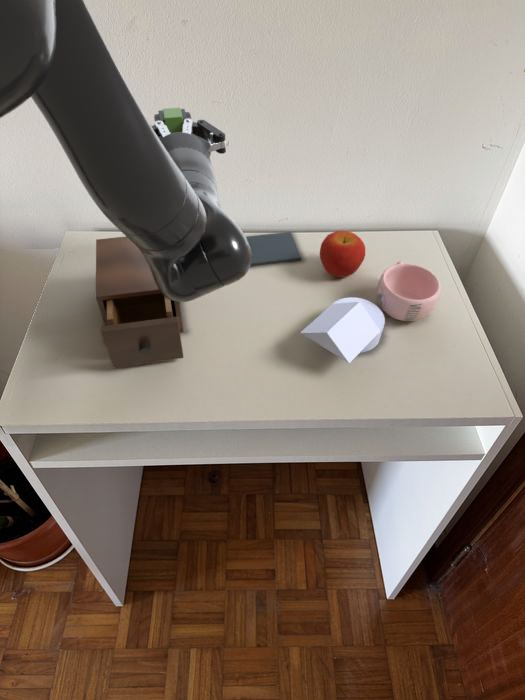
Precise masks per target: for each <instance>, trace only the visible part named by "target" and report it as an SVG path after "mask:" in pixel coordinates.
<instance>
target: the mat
mask: <svg viewBox="0 0 525 700" xmlns="http://www.w3.org/2000/svg"><path fill="white" fill-rule="evenodd" d="M245 237H246V238H247V240H248V243H249V245H250V248H251V253H252V259H251V265H250V267H253V266H261V265H270V264H279V263H287V262H294V261H301V260H302V256H301V253H300V252H299V248H298V246H297V244H296V242H295V239H294V237H293V235H292V232H291V231H288V232H279V233H278V232H277V233H268V234H260V235H249V236H245Z"/></svg>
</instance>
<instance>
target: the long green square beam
mask: <svg viewBox="0 0 525 700" xmlns="http://www.w3.org/2000/svg"><path fill="white" fill-rule="evenodd" d="M181 109H182V108H181V107H171V108H170V107H169V108H162V110H163V115H164V120H165V125H166V126H167V128H168V130H169V132H170V133H176V132H183V118H182V113H181Z"/></svg>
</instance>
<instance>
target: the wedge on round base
mask: <svg viewBox="0 0 525 700" xmlns="http://www.w3.org/2000/svg"><path fill="white" fill-rule="evenodd" d="M385 323H386V319H385V314H384V313H383V311H382V310H381V308H380V307H379V306H377V304H375V303H373V302H371V301H369V300H367V299H364V298H361V297H354V296H353V297H351V296H350V297H344V298H340V299H337V300H336V301H334V302H333V303H332V304H331V305H329V306H328V307H327V308H326V309H325V310H324V311H322V312H321V314H319V315H318V316H317V317H316V318H315V319H314V320H313V321H312V322H310V323H309V324H308V325H307V326H306V327H305V328H303V330H302V331H300V334H301V335H303V336H304V337H306V338H308V339H309V340H311V341H312V342H314V343H315V344H317V345H319V346H321V347H322V348H324V349H325V350H327V351H328V352H330V353H332V354H333V355H335V356H336V357H338V358H340V359H341V360H343V361H345V362H346V363H348V364H350V363H352V362H353V360H355V358H356V357H357V356H358V355H359V354H360V353H361V354H362V353H365V352H369V351H372V350H373V349H374V348H375V347H377V345H378V344H379V342H380V341H381V336H382V333H383V330H384V327H385Z"/></svg>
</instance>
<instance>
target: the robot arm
mask: <svg viewBox="0 0 525 700" xmlns="http://www.w3.org/2000/svg"><path fill="white" fill-rule="evenodd" d="M30 98H31V99H32V101H33V102H34V104H35V105H36V106H37V108H38V109H39V111H40V112H41V114H42V116H43V117H44V119H45V121H46V123H47V124H48V126H49V127H50V130H51V131H52V132H53V134H54V136H55V137H56V139H57V141H58V143H59V144H60V147H61V149H62V150H63V151H64V153H65V156H66V157H67V159H68V161H69V162H70V164H71V166H72V168H73V169H74V171H75V173H76V176H77V177H78V179H79V181H80V182H81V184H82V185H83V187H84V189H85V190H86V192H87V193H88V195H89V197H90V199H92V201H93V202H94V204H95V205H96V206H97V208H98V209H99V211H101V213H102V214H103V215H104V217H106V219H107V220H108V221H109V222H110V223H111V224H112V225H114V227H116V228H117V229H118V230H119V231H120V232H121V233H122V234H123V235H124V237H128V238H129V239H130V240H131V241H132V242H133V243H134V244H135V245H136V246H137V247H138V248H139V250H140V251H141V253H142V254H143V256H144V257H145V259H146V261H147V263H148V265H149V267H150V270H151V273H152V276H153V278H154V281H155V283H156V285H157V287H158V289H159V290H160V292H161V293H162V294H163V295H164V296H165V297H166V298H168V299H170V300H172V301H176V302H180V303H188V302H192V301H194V300H195V301H196V300H197V299H199V298H201V297H203V296H206V295H209V294H210V293H213V292H215V291H218V290H220V289H222V288H224V287H226V286H229V285H231V284H234V283H236V282H238V281H240V280H241V279H243V278H245V276H246V275H247V273H248V272H249V270H250V268H251V266H250V265H251V259H252V253H251V248H250V245H249V243H248V240H247V238H246V237H247V236H246V235H245V233H244V232H243V230H242V229H241V228H240V226H239V225H238V223H236V222H235V220H234V219H233V218H232V217H231V216H230V215H229V214H228V213H226V211H225V210H224V209H223V207H222V204H221V201H220V197H219V194H218V185H217V180H216V176H215V172H214V168H213V164H212V161H211V154H212V152H216V153H217V154H222V155H223V154H225V153H226V152H227V145H226V133H225V132H223V131H222V130H220V129H218V128H217V127H216V126H214V125H212V124H211V123H210V122H208V121H207V120H205V119H198V120H197V121H196V122H194V121H193V119H192V115H191V113H190V112H189V111H186V109H185V108H180V109H181V113H182V118H183V132H176V133H170V132H169V130H168V128H167V126H166V125H165V120H164V115H163V109H162V110H161V109H160V110H158V111H157V112H158V113H155V114H154V115H153V119H154V124H153V125H152V124H151V123H150V121H149V120H148V118H147V116H146V115H145V113H144V112H143V110H142V108H141V106H140V104H139V103H138V101H137V99H136V97H135V96H134V94H133V93H132V91H131V89H130V87H129V86H128V84H127V82H126V80H125V77H123V74H122V72H121V71H120V69H119V67H118V66H117V64H116V62H115V60H114V58H113V56H112V53H111V52H110V50H109V48H108V46H107V45H106V42H105V41H104V38H103V36H102V35H101V32H100V31H99V29H98V27H97V24H96V22H95V20H94V18H93V16H92V14H91V12H90V10H89V9H88V7H87V4H86V2H85V0H0V119H3V118H4V117H5V116H7V115H9V114H10V113H12V112H14V111H15V110H17V109H18V108H20V107H21V106H22V105H23V104H24V103H26V102H27V101H28V100H29V99H30Z"/></svg>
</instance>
